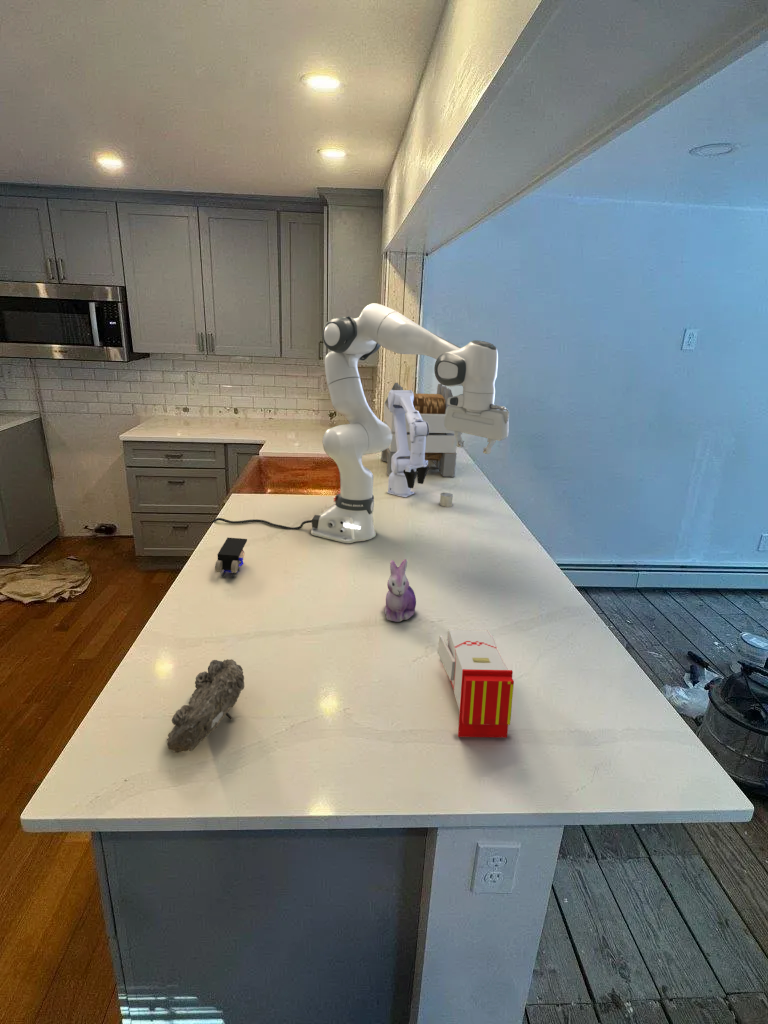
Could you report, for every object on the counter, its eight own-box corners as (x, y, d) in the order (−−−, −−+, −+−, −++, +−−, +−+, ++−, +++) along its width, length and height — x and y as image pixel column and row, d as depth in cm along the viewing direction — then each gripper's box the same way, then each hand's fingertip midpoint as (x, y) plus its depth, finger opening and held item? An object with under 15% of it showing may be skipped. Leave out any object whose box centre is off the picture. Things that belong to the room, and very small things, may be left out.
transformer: (380, 458, 298) (383, 379, 285) (441, 459, 302) (447, 381, 288) (387, 476, 267) (391, 388, 253) (455, 477, 270) (463, 391, 257)
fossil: (192, 660, 117) (244, 628, 112) (224, 691, 120) (276, 661, 115) (142, 746, 98) (202, 712, 93) (182, 779, 101) (242, 748, 96)
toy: (488, 613, 130) (523, 677, 101) (484, 667, 133) (517, 744, 104) (435, 612, 130) (455, 676, 101) (432, 666, 133) (451, 743, 103)
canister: (448, 507, 229) (449, 497, 228) (437, 505, 231) (438, 494, 230) (453, 504, 233) (454, 494, 232) (442, 501, 236) (443, 491, 234)
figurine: (392, 627, 141) (395, 572, 136) (374, 608, 149) (376, 556, 144) (425, 619, 145) (429, 566, 140) (405, 601, 154) (408, 550, 149)
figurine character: (238, 584, 162) (249, 557, 175) (236, 562, 158) (247, 536, 172) (215, 584, 161) (227, 556, 175) (212, 561, 158) (225, 535, 171)
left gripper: (516, 406, 154) (510, 455, 158) (456, 396, 167) (452, 442, 172) (503, 408, 149) (497, 459, 154) (442, 397, 163) (439, 444, 167)
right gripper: (417, 457, 214) (415, 491, 219) (435, 451, 226) (433, 483, 231) (401, 454, 218) (399, 488, 223) (420, 448, 230) (418, 480, 234)
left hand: (473, 450), depth 163 cm, fingers open, 8 cm apart
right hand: (415, 485), depth 227 cm, fingers open, 7 cm apart
